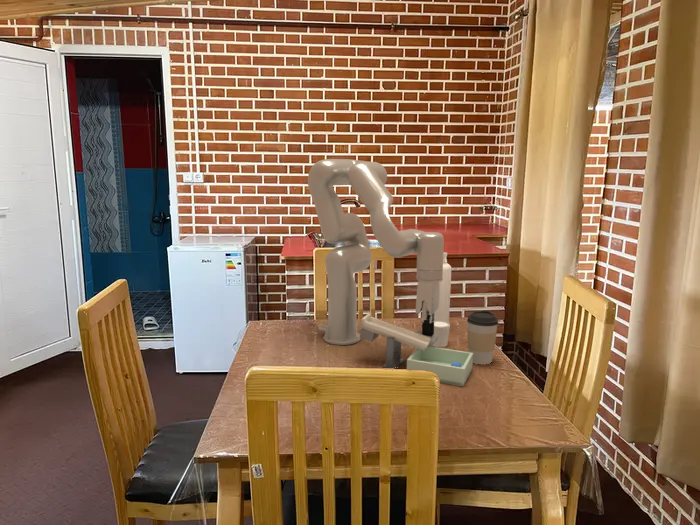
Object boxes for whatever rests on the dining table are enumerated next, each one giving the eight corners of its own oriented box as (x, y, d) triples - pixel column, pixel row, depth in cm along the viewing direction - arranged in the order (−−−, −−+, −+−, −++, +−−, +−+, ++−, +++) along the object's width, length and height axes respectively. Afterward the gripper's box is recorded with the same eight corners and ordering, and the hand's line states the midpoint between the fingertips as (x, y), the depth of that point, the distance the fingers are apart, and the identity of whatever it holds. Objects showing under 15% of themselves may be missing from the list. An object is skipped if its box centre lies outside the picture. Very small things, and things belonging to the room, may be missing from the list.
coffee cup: (490, 369, 151) (493, 319, 148) (460, 362, 156) (463, 314, 153) (499, 359, 159) (502, 312, 156) (470, 353, 164) (473, 307, 161)
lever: (357, 336, 154) (362, 318, 152) (371, 325, 164) (375, 308, 162) (424, 361, 147) (429, 342, 145) (434, 348, 157) (439, 330, 155)
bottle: (446, 334, 180) (450, 255, 175) (423, 331, 183) (426, 254, 178) (450, 327, 188) (454, 252, 182) (428, 325, 191) (431, 250, 185)
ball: (449, 373, 146) (449, 363, 145) (451, 369, 148) (452, 359, 148) (460, 374, 144) (460, 364, 144) (462, 370, 147) (462, 360, 147)
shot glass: (449, 348, 167) (450, 327, 166) (427, 346, 169) (428, 326, 167) (449, 341, 174) (450, 321, 173) (428, 339, 175) (429, 320, 174)
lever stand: (382, 368, 151) (383, 337, 149) (391, 358, 158) (392, 329, 156) (395, 371, 149) (396, 339, 147) (404, 361, 157) (405, 331, 155)
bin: (406, 376, 146) (407, 359, 145) (419, 360, 157) (419, 344, 156) (463, 386, 139) (464, 369, 138) (472, 369, 151) (473, 352, 150)
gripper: (423, 268, 159) (422, 326, 162) (409, 278, 145) (408, 341, 149) (448, 270, 156) (446, 329, 159) (436, 281, 142) (434, 344, 146)
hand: (427, 334), depth 154 cm, fingers closed
